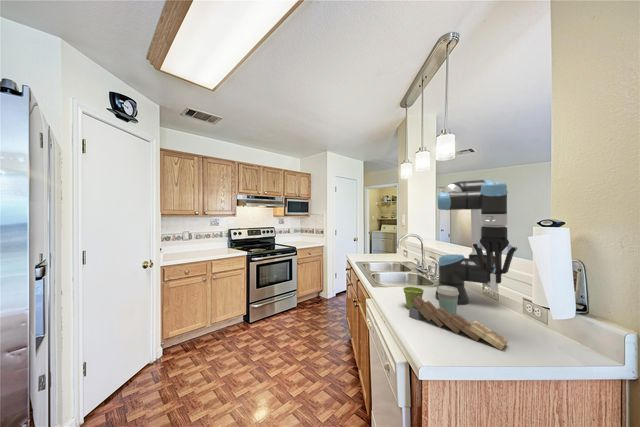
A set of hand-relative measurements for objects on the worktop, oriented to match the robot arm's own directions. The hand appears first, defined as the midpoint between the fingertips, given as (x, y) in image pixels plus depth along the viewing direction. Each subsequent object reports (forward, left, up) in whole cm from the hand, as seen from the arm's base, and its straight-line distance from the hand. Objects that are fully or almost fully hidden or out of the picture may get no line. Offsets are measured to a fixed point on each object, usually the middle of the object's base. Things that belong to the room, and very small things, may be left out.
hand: (494, 291), depth 83 cm
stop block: (+6, -26, -16) cm, 31 cm away
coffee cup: (-6, -19, -17) cm, 26 cm away
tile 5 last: (+6, -19, -15) cm, 25 cm away
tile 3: (+6, -9, -16) cm, 19 cm away
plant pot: (-2, -33, -17) cm, 37 cm away
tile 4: (+6, -15, -16) cm, 22 cm away
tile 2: (+6, -2, -16) cm, 17 cm away
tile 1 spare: (+6, +4, -15) cm, 17 cm away
